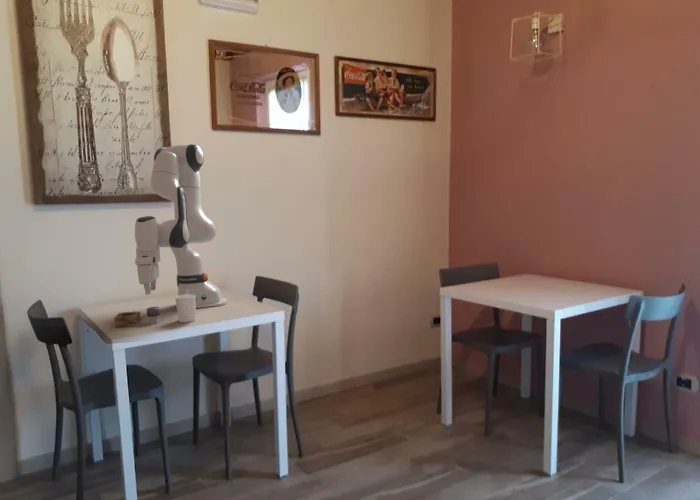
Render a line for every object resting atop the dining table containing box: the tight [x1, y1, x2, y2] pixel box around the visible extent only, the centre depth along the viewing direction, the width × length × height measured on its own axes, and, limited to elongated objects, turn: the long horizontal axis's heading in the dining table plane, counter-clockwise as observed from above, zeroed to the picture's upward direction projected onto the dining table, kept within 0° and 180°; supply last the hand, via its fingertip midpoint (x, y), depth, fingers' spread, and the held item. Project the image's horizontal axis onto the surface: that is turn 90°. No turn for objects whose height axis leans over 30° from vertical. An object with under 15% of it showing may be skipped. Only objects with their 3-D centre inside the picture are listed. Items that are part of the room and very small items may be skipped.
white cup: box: [175, 294, 197, 323], centre depth 229 cm, size 8×8×10 cm
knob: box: [146, 306, 161, 325], centre depth 228 cm, size 5×5×6 cm
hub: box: [113, 311, 142, 328], centre depth 227 cm, size 8×8×4 cm
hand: (150, 292), depth 226 cm, fingers open, 8 cm apart
